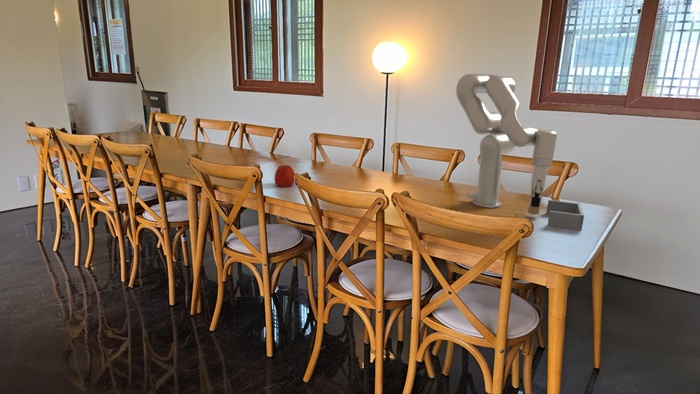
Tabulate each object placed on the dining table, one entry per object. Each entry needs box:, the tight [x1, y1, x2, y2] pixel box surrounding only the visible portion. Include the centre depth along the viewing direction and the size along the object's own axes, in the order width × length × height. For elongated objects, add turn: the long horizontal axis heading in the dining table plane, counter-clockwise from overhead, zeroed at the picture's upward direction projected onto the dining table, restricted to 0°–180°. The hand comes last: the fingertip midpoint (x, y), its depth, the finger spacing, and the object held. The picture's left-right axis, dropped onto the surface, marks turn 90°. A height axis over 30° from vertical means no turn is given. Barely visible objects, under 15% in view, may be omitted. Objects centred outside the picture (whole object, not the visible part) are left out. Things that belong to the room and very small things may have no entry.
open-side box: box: [545, 199, 585, 231], centre depth 179 cm, size 12×18×6 cm, turn 158°
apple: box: [274, 164, 296, 188], centre depth 220 cm, size 10×10×10 cm
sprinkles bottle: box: [527, 181, 544, 215], centre depth 182 cm, size 5×5×14 cm
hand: (534, 204), depth 183 cm, fingers closed on sprinkles bottle, 4 cm apart
